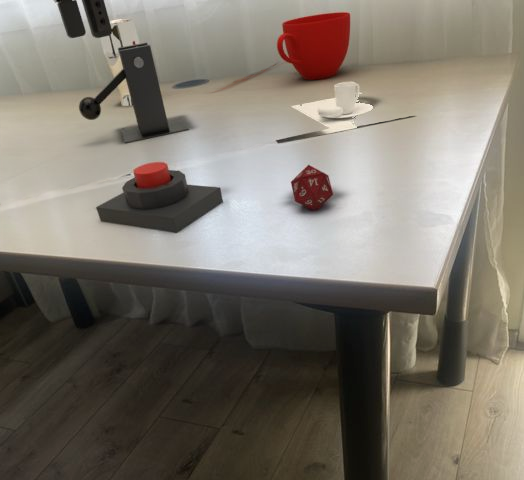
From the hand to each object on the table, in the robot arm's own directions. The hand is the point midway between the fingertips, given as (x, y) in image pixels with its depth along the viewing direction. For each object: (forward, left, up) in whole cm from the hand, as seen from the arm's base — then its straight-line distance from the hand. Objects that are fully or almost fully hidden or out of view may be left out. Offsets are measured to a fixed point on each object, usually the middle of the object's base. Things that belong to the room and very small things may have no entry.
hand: (89, 36), depth 63 cm
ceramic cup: (0, +53, -16) cm, 56 cm away
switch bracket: (-8, +14, -16) cm, 23 cm away
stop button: (+15, -11, -13) cm, 23 cm away
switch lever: (-10, +12, -9) cm, 18 cm away
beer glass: (-28, +31, -16) cm, 45 cm away
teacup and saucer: (+16, +27, -16) cm, 36 cm away
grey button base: (+15, -11, -16) cm, 25 cm away
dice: (+31, -6, -16) cm, 36 cm away
